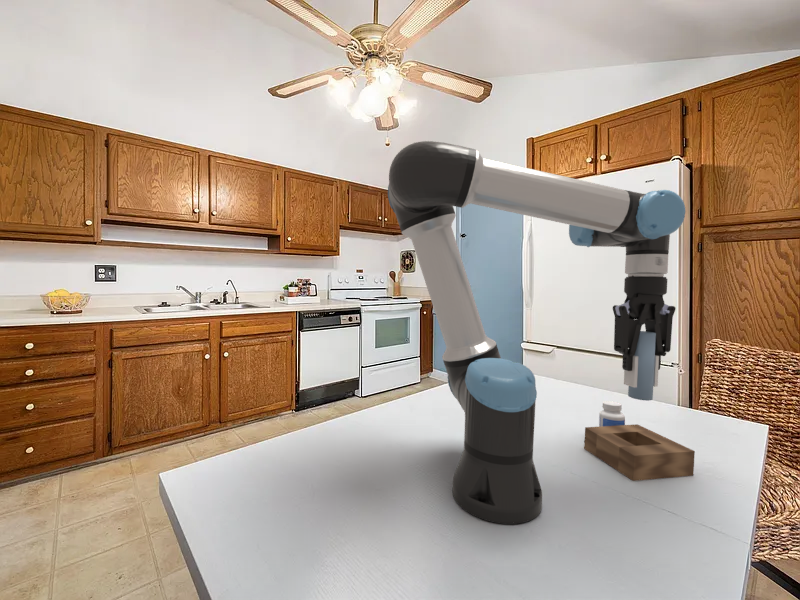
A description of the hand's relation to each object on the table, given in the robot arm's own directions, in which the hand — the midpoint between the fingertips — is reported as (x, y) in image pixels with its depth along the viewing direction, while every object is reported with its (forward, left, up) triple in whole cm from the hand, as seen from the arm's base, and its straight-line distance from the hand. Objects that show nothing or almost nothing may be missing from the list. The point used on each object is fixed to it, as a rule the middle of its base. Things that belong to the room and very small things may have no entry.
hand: (640, 384), depth 79 cm
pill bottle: (+2, +10, -17) cm, 20 cm away
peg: (0, 0, -3) cm, 3 cm away
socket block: (0, 0, -17) cm, 17 cm away
